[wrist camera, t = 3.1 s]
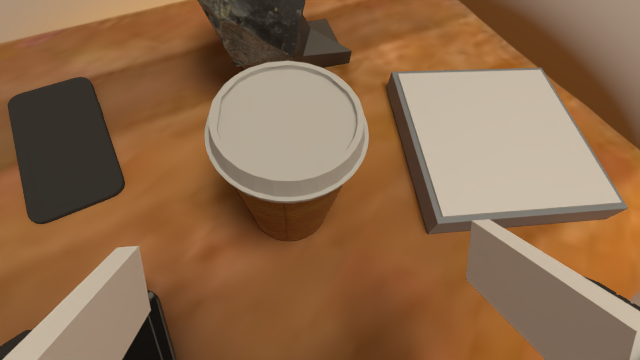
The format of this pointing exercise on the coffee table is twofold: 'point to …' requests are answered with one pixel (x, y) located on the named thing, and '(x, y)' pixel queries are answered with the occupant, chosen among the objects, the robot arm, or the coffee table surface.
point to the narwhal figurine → (273, 33)
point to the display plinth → (496, 150)
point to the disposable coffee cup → (286, 143)
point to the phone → (63, 150)
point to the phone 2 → (152, 336)
